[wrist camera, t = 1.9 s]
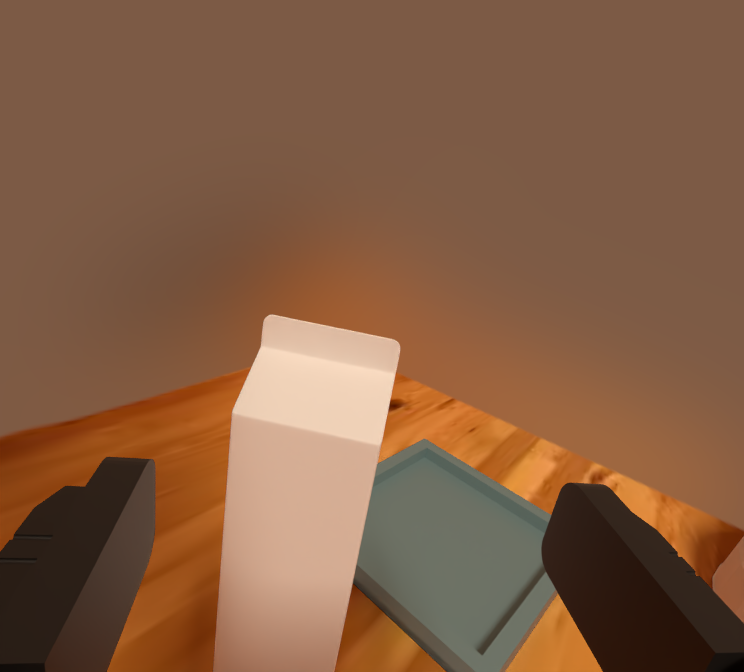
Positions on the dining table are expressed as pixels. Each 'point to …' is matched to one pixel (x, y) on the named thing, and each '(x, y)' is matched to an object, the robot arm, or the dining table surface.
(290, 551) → the milk
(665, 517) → the dining table surface
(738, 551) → the dome with blue handle
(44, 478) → the dining table surface
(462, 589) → the tray
